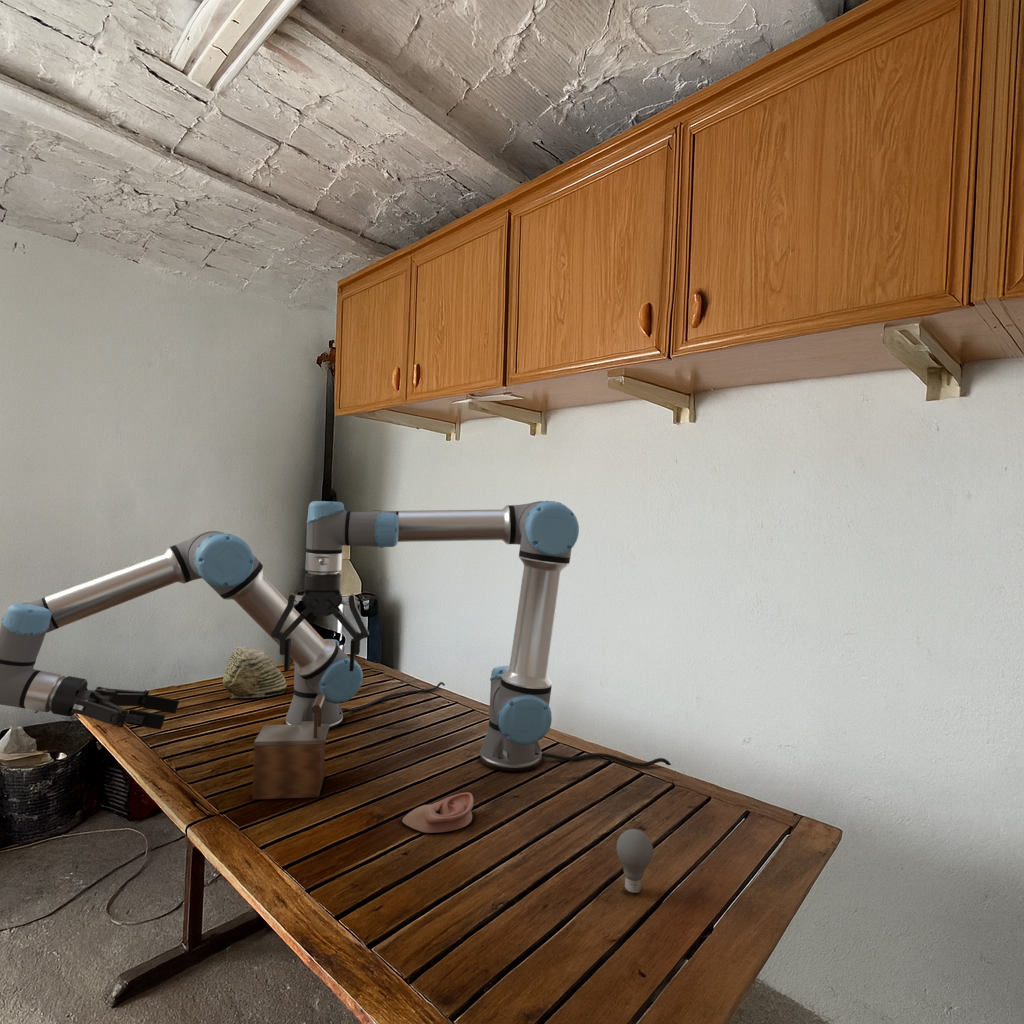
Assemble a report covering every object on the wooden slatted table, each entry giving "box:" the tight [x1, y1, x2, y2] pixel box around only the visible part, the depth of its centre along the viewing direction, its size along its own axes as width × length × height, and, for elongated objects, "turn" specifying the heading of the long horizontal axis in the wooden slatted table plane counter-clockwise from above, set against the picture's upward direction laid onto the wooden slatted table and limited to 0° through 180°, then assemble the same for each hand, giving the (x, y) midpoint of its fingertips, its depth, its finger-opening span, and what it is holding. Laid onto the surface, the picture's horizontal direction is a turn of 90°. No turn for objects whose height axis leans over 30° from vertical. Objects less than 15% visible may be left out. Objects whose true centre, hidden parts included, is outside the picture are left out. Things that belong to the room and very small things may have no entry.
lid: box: [253, 694, 330, 747], centre depth 137 cm, size 14×10×8 cm
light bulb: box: [615, 828, 654, 894], centre depth 106 cm, size 6×6×10 cm
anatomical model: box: [401, 791, 474, 834], centre depth 126 cm, size 13×4×12 cm
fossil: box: [222, 646, 288, 699], centre depth 198 cm, size 9×18×15 cm, turn 132°
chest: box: [251, 740, 327, 800], centre depth 137 cm, size 13×10×11 cm
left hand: (170, 714), depth 134 cm, fingers open, 13 cm apart
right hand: (319, 669), depth 138 cm, fingers open, 13 cm apart
